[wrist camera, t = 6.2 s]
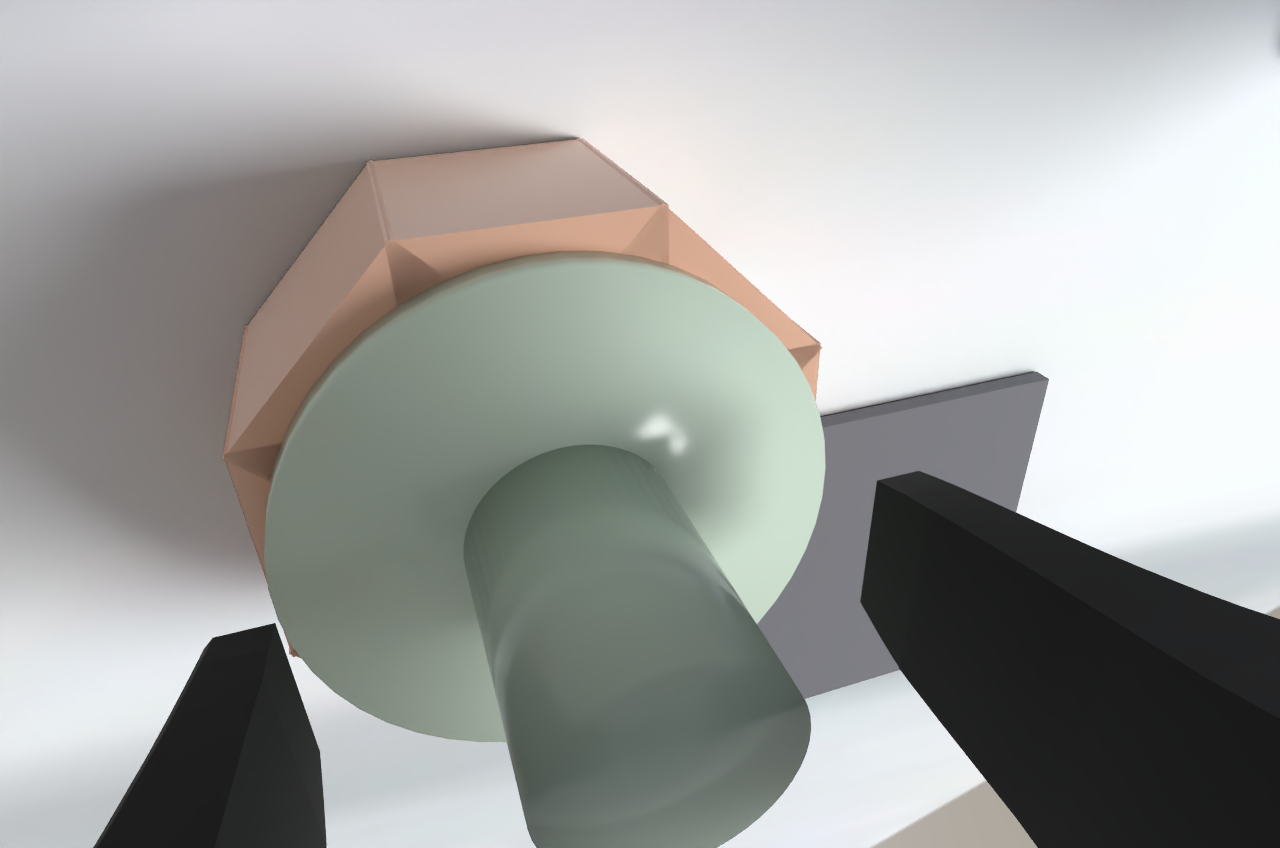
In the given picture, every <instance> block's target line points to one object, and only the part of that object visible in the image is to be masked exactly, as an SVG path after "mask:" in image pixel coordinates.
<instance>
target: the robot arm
mask: <svg viewBox="0 0 1280 848" xmlns="http://www.w3.org/2000/svg"><path fill="white" fill-rule="evenodd" d="M860 602H861V604H862V606H863V608H864V610H865V611H866V613H867V615H868V617H869V618H870V620H871V622H872V624H873V625H874V627H875V629H876V631H877V632H878V634H879V636H880V638H881V639H882V641H883V643H884V644H885V646H886V648H887V649H888V651H889V652H890V654H891V656H892V657H893V659H894V661H895V662H896V664H897V665H898V667H899V669H900V670H901V671H902V673H903V674H904V675H905V677H906V678H907V679H908V681H909V682H910V683H911V685H912V686H913V687H914V689H915V690H916V691H917V692H918V694H919V695H920V696H921V698H922V699H923V700H924V702H925V703H926V704H927V705H928V707H929V708H930V709H931V711H932V712H933V713H934V714H935V716H936V717H937V718H938V720H939V721H940V722H941V723H942V725H943V726H944V727H945V728H946V730H947V731H948V732H949V734H950V735H951V736H952V737H953V739H954V740H955V741H956V742H957V744H958V745H959V746H960V747H961V749H962V750H963V751H964V752H965V754H966V755H967V756H968V758H969V759H970V760H971V761H972V763H973V764H974V765H975V766H976V768H977V769H978V770H979V771H980V773H981V774H982V775H983V777H984V778H985V779H986V780H987V782H988V783H989V784H990V785H991V787H992V788H993V789H994V790H995V792H996V793H997V794H998V796H999V797H1000V798H1001V799H1002V801H1003V802H1004V803H1005V804H1006V806H1007V807H1008V808H1009V809H1010V811H1011V812H1012V813H1013V814H1014V816H1015V817H1016V818H1017V820H1018V821H1019V822H1020V824H1021V825H1022V827H1023V828H1024V829H1025V831H1026V832H1027V833H1028V835H1029V836H1030V838H1031V839H1032V840H1033V842H1034V843H1035V844H1036V846H1037V847H1038V848H1280V619H1277V618H1274V617H1271V616H1268V615H1265V614H1262V613H1259V612H1256V611H1253V610H1250V609H1247V608H1244V607H1242V606H1239V605H1236V604H1233V603H1231V602H1228V601H1225V600H1222V599H1220V598H1217V597H1214V596H1211V595H1209V594H1206V593H1203V592H1201V591H1198V590H1196V589H1193V588H1191V587H1188V586H1186V585H1183V584H1181V583H1178V582H1176V581H1173V580H1171V579H1168V578H1166V577H1163V576H1161V575H1158V574H1156V573H1153V572H1151V571H1148V570H1145V569H1143V568H1141V567H1138V566H1136V565H1133V564H1131V563H1129V562H1126V561H1124V560H1122V559H1119V558H1117V557H1115V556H1112V555H1110V554H1107V553H1105V552H1103V551H1101V550H1098V549H1096V548H1094V547H1091V546H1089V545H1087V544H1085V543H1082V542H1080V541H1078V540H1076V539H1073V538H1071V537H1069V536H1067V535H1064V534H1062V533H1060V532H1058V531H1055V530H1053V529H1051V528H1049V527H1047V526H1044V525H1042V524H1040V523H1038V522H1036V521H1033V520H1031V519H1029V518H1027V517H1025V516H1022V515H1020V514H1018V513H1016V512H1014V511H1012V510H1009V509H1007V508H1005V507H1003V506H1001V505H998V504H996V503H994V502H992V501H990V500H987V499H985V498H983V497H981V496H978V495H976V494H974V493H972V492H969V491H967V490H965V489H963V488H960V487H958V486H956V485H953V484H951V483H949V482H946V481H944V480H941V479H939V478H937V477H934V476H931V475H929V474H926V473H923V472H921V471H915V472H911V473H907V474H902V475H898V476H894V477H890V478H886V479H881V480H877V484H876V491H875V498H874V505H873V512H872V520H871V527H870V534H869V541H868V549H867V556H866V563H865V570H864V577H863V585H862V592H861V599H860ZM93 848H326V829H325V813H324V798H323V785H322V772H321V759H320V751H319V748H318V745H317V742H316V739H315V736H314V733H313V731H312V728H311V725H310V722H309V719H308V716H307V713H306V710H305V708H304V705H303V702H302V699H301V696H300V693H299V690H298V687H297V685H296V682H295V679H294V676H293V673H292V670H291V667H290V664H289V662H288V659H287V656H286V653H285V650H284V647H283V644H282V641H281V639H280V636H279V633H278V630H277V627H276V624H275V623H274V624H269V625H265V626H261V627H257V628H253V629H248V630H244V631H240V632H236V633H231V634H227V635H223V636H219V637H215V638H212V640H211V641H210V642H209V643H208V645H207V646H206V647H205V648H204V650H203V652H202V654H201V656H200V658H199V660H198V662H197V664H196V666H195V668H194V670H193V672H192V674H191V675H190V677H189V679H188V681H187V683H186V685H185V687H184V689H183V691H182V693H181V695H180V697H179V699H178V700H177V702H176V704H175V706H174V708H173V710H172V712H171V714H170V715H169V717H168V719H167V721H166V723H165V725H164V727H163V728H162V730H161V732H160V734H159V736H158V737H157V739H156V741H155V743H154V745H153V747H152V748H151V750H150V752H149V754H148V756H147V757H146V759H145V761H144V763H143V764H142V766H141V768H140V770H139V771H138V773H137V775H136V776H135V778H134V780H133V781H132V783H131V785H130V787H129V788H128V790H127V792H126V793H125V795H124V797H123V799H122V800H121V802H120V804H119V805H118V807H117V809H116V811H115V812H114V814H113V816H112V817H111V819H110V821H109V823H108V824H107V826H106V828H105V829H104V831H103V833H102V834H101V836H100V838H99V839H98V841H97V842H96V844H95V846H94V847H93Z"/></svg>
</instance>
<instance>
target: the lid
mask: <svg viewBox="0 0 1280 848" xmlns="http://www.w3.org/2000/svg"><path fill="white" fill-rule="evenodd" d="M824 477H825V440H824V434H823V429H822V423H821V418H820V413H819V410H818V407H817V404H816V401H815V398H814V396H813V393H812V390H811V387H810V385H809V383H808V381H807V379H806V378H805V376H804V374H803V372H802V370H801V369H800V367H799V365H798V363H797V361H796V360H795V358H794V357H793V356H792V355H791V353H790V352H789V351H788V350H787V348H786V347H785V346H784V345H783V343H782V342H781V341H780V340H779V338H778V337H777V336H776V335H775V334H774V333H773V332H772V331H770V330H769V329H768V328H767V327H766V326H765V325H764V324H763V323H762V322H761V321H759V320H758V319H757V318H756V317H755V316H754V315H753V314H752V313H750V312H749V311H748V310H747V309H746V308H745V307H744V306H742V305H741V304H740V303H739V302H738V301H737V300H736V299H734V298H733V297H731V296H730V295H728V294H727V293H725V292H724V291H722V290H721V289H719V288H718V287H716V286H714V285H713V284H711V283H710V282H708V281H707V280H705V279H702V278H700V277H698V276H696V275H694V274H691V273H689V272H687V271H685V270H682V269H680V268H678V267H676V266H673V265H669V264H666V263H662V262H658V261H655V260H651V259H648V258H644V257H641V256H635V255H627V254H620V253H613V252H605V251H557V252H549V253H542V254H534V255H526V256H519V257H515V258H511V259H508V260H504V261H500V262H496V263H492V264H488V265H484V266H481V267H477V268H475V269H472V270H470V271H467V272H465V273H462V274H460V275H457V276H455V277H452V278H450V279H447V280H445V281H442V282H440V283H437V284H435V285H434V286H432V287H430V288H428V289H426V290H425V291H423V292H421V293H419V294H417V295H416V296H414V297H412V298H410V299H408V300H407V301H405V302H403V303H401V304H399V305H398V306H397V307H395V308H394V309H393V310H391V311H390V312H388V313H387V314H386V315H384V316H383V317H382V318H380V319H379V320H378V321H376V322H375V323H373V324H372V325H371V326H369V327H368V328H367V329H365V330H364V331H363V332H362V333H361V334H360V335H359V336H358V337H357V338H356V339H355V340H354V341H353V342H351V343H350V344H349V345H348V346H347V347H346V348H345V349H344V350H343V351H342V352H341V353H340V354H339V355H338V356H337V357H336V358H335V359H334V360H333V361H332V362H331V364H330V365H329V366H328V367H327V369H326V370H325V371H324V372H323V374H322V375H321V376H320V378H319V379H318V380H317V381H316V383H315V384H314V385H313V386H312V388H311V389H310V390H309V391H308V393H307V395H306V397H305V398H304V400H303V402H302V403H301V405H300V407H299V409H298V410H297V412H296V414H295V416H294V417H293V419H292V421H291V422H290V424H289V426H288V429H287V431H286V434H285V436H284V439H283V442H282V444H281V447H280V449H279V452H278V454H277V457H276V459H275V464H274V468H273V473H272V478H271V482H270V487H269V491H268V499H267V511H266V525H265V548H264V560H265V567H266V575H267V582H268V589H269V593H270V596H271V599H272V602H273V605H274V608H275V611H276V614H277V617H278V620H279V622H280V624H281V626H282V628H283V630H284V631H285V633H286V635H287V637H288V639H289V641H290V643H291V644H292V646H293V648H294V649H295V650H296V652H297V653H298V654H299V656H300V657H301V658H302V659H303V661H304V662H305V663H306V664H307V666H308V667H309V668H310V670H311V671H312V672H313V673H314V674H315V675H316V676H317V677H319V678H320V679H321V680H322V681H323V682H324V683H325V684H326V685H327V686H328V687H329V688H331V689H332V690H333V691H334V692H335V693H337V694H338V695H339V696H341V697H342V698H344V699H345V700H347V701H348V702H350V703H351V704H353V705H354V706H356V707H357V708H359V709H361V710H363V711H365V712H367V713H369V714H371V715H373V716H375V717H377V718H379V719H381V720H383V721H385V722H387V723H390V724H393V725H396V726H399V727H402V728H405V729H408V730H411V731H414V732H417V733H422V734H427V735H432V736H437V737H441V738H446V739H455V740H465V741H476V742H507V745H508V749H509V753H510V757H511V761H512V766H513V770H514V774H515V778H516V782H517V786H518V791H519V795H520V799H521V803H522V807H523V812H524V816H525V820H526V824H527V828H528V831H529V834H530V837H531V839H532V841H533V843H534V844H535V846H536V847H537V848H717V847H719V846H720V845H722V844H724V843H725V842H727V841H729V840H730V839H732V838H733V837H735V836H736V835H738V834H739V833H740V832H742V831H743V830H745V829H746V828H747V827H749V826H750V825H751V824H752V823H754V822H755V821H756V820H757V819H758V818H760V817H761V816H762V815H763V814H764V813H765V812H766V811H767V810H768V809H769V808H770V807H771V806H772V805H773V804H774V803H775V802H776V801H777V800H778V798H779V797H780V796H781V795H782V794H783V793H784V791H785V790H786V789H787V787H788V786H789V784H790V783H791V782H792V780H793V779H794V777H795V775H796V773H797V772H798V770H799V768H800V766H801V764H802V762H803V759H804V757H805V755H806V752H807V748H808V745H809V741H810V733H811V720H810V714H809V710H808V706H807V704H806V702H805V700H804V698H803V696H802V694H801V692H800V691H799V689H798V688H797V686H796V685H795V683H794V681H793V680H792V678H791V677H790V675H789V674H788V672H787V670H786V669H785V667H784V666H783V664H782V663H781V661H780V660H779V658H778V656H777V655H776V653H775V652H774V650H773V649H772V647H771V645H770V644H769V642H768V641H767V639H766V638H765V636H764V635H763V633H762V631H761V630H760V628H759V627H758V625H757V624H758V622H759V621H760V620H761V619H762V617H763V616H764V615H765V614H766V612H767V611H768V610H769V609H770V608H771V606H772V605H773V604H774V603H775V601H776V600H777V598H778V597H779V595H780V594H781V592H782V591H783V589H784V588H785V586H786V585H787V583H788V582H789V580H790V579H791V577H792V576H793V574H794V572H795V570H796V568H797V566H798V564H799V562H800V560H801V558H802V556H803V554H804V552H805V550H806V548H807V545H808V542H809V540H810V537H811V535H812V532H813V529H814V527H815V524H816V520H817V516H818V512H819V508H820V504H821V500H822V495H823V486H824Z"/></svg>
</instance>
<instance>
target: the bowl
mask: <svg viewBox="0 0 1280 848" xmlns="http://www.w3.org/2000/svg"><path fill="white" fill-rule="evenodd" d="M557 251H605V252H613V253H620V254H627V255H635V256H641V257H644V258H648V259H651V260H655V261H658V262H662V263H666V264H669V265H673V266H676V267H678V268H680V269H682V270H685V271H687V272H689V273H691V274H694V275H696V276H698V277H700V278H702V279H705V280H707V281H708V282H710V283H711V284H713V285H714V286H716V287H718V288H719V289H721V290H722V291H724V292H725V293H727V294H728V295H730V296H731V297H733V298H734V299H736V300H737V301H738V302H739V303H740V304H741V305H742V306H744V307H745V308H746V309H747V310H748V311H749V312H750V313H752V314H753V315H754V316H755V317H756V318H757V319H758V320H759V321H761V322H762V323H763V324H764V325H765V326H766V327H767V328H768V329H769V330H770V331H772V332H773V333H774V334H775V335H776V336H777V337H778V338H779V340H780V341H781V342H782V343H783V345H784V346H785V347H786V348H787V350H788V351H789V352H790V353H791V355H792V356H793V357H794V358H795V360H796V361H797V363H798V365H799V367H800V369H801V370H802V372H803V374H804V376H805V378H806V379H807V381H808V383H809V385H810V387H811V390H812V393H813V396H814V398H815V401H816V390H817V379H818V367H819V356H820V349H821V348H822V347H821V346H820V344H821V343H820V342H818V341H817V340H816V339H815V338H813V337H812V336H811V335H810V334H808V333H807V332H806V331H805V330H804V329H802V328H801V327H800V326H799V325H797V324H796V323H795V322H794V321H792V320H791V319H790V318H789V317H788V316H787V315H786V314H784V313H783V312H782V311H781V310H780V309H779V308H778V307H777V306H776V305H775V304H773V303H772V302H771V301H770V300H769V299H768V298H767V297H766V296H765V295H764V294H762V293H761V292H760V291H759V290H758V289H757V288H756V287H755V286H754V285H753V284H751V283H750V282H749V281H748V280H747V279H746V278H745V277H744V276H743V275H742V274H740V273H739V272H738V271H737V270H736V269H735V268H734V267H733V266H732V265H731V264H729V263H728V262H727V261H726V260H725V259H724V258H723V257H722V256H721V255H719V254H718V253H717V252H716V251H715V250H714V249H713V248H712V247H711V246H710V245H708V244H707V243H706V242H705V241H704V240H703V239H702V238H701V237H700V236H699V235H697V234H696V233H695V232H694V231H693V230H692V229H691V228H690V227H689V226H688V225H686V224H685V223H684V222H683V221H682V220H681V219H680V218H679V217H678V216H677V215H675V214H674V213H673V212H672V211H671V210H670V209H669V208H668V204H667V203H665V202H664V201H663V200H662V199H660V198H659V197H658V196H656V195H655V194H654V193H653V192H651V191H650V190H649V189H647V188H646V187H645V186H643V185H642V184H641V183H640V182H638V181H637V180H636V179H634V178H633V177H632V176H631V175H629V174H628V173H627V172H625V171H624V170H623V169H621V168H620V167H619V166H618V165H616V164H615V163H614V162H612V161H611V160H610V159H609V158H607V157H606V156H605V155H603V154H602V153H601V152H599V151H598V150H597V149H596V148H594V147H593V146H592V145H590V144H589V143H588V142H587V141H585V140H584V139H580V138H579V137H578V138H577V139H574V140H565V141H555V142H546V143H537V144H527V145H518V146H508V147H499V148H490V149H480V150H471V151H461V152H452V153H443V154H433V155H424V156H414V157H405V158H396V159H386V160H377V161H372V160H371V159H370V160H369V161H367V162H366V166H365V167H364V168H363V170H362V171H361V173H360V174H359V175H358V177H357V178H356V179H355V181H354V182H353V183H352V185H351V186H350V187H349V189H348V190H347V191H346V193H345V194H344V196H343V197H342V198H341V200H340V201H339V202H338V204H337V205H336V206H335V208H334V209H333V210H332V212H331V213H330V215H329V216H328V217H327V219H326V220H325V221H324V223H323V224H322V225H321V227H320V228H319V229H318V231H317V232H316V233H315V235H314V236H313V238H312V239H311V240H310V242H309V243H308V244H307V246H306V247H305V248H304V250H303V251H302V252H301V254H300V255H299V256H298V258H297V259H296V261H295V262H294V263H293V265H292V266H291V267H290V269H289V270H288V271H287V273H286V274H285V275H284V277H283V278H282V279H281V281H280V282H279V284H278V285H277V286H276V288H275V289H274V290H273V292H272V293H271V294H270V296H269V297H268V298H267V300H266V301H265V302H264V304H263V305H262V307H261V308H260V309H259V311H258V312H257V313H256V315H255V316H254V317H253V319H252V320H251V321H250V323H249V324H248V325H245V329H244V334H243V340H242V346H241V352H240V358H239V364H238V370H237V375H236V381H235V387H234V393H233V399H232V405H231V411H230V417H229V422H228V428H227V434H226V440H225V446H224V452H223V458H222V460H224V461H226V464H227V467H228V470H229V472H230V475H231V478H232V481H233V484H234V487H235V490H236V493H237V496H238V499H239V502H240V505H241V507H242V510H243V513H244V516H245V519H246V522H247V525H248V528H249V531H250V534H251V537H252V540H253V542H254V545H255V548H256V551H257V554H258V557H259V560H260V563H261V566H262V569H263V572H264V575H265V577H266V580H267V575H266V567H265V560H264V548H265V525H266V511H267V499H268V491H269V487H270V482H271V478H272V473H273V468H274V464H275V459H276V457H277V454H278V452H279V449H280V447H281V444H282V442H283V439H284V436H285V434H286V431H287V429H288V426H289V424H290V422H291V421H292V419H293V417H294V416H295V414H296V412H297V410H298V409H299V407H300V405H301V403H302V402H303V400H304V398H305V397H306V395H307V393H308V391H309V390H310V389H311V388H312V386H313V385H314V384H315V383H316V381H317V380H318V379H319V378H320V376H321V375H322V374H323V372H324V371H325V370H326V369H327V367H328V366H329V365H330V364H331V362H332V361H333V360H334V359H335V358H336V357H337V356H338V355H339V354H340V353H341V352H342V351H343V350H344V349H345V348H346V347H347V346H348V345H349V344H350V343H351V342H353V341H354V340H355V339H356V338H357V337H358V336H359V335H360V334H361V333H362V332H363V331H364V330H365V329H367V328H368V327H369V326H371V325H372V324H373V323H375V322H376V321H378V320H379V319H380V318H382V317H383V316H384V315H386V314H387V313H388V312H390V311H391V310H393V309H394V308H395V307H397V306H398V305H399V304H401V303H403V302H405V301H407V300H408V299H410V298H412V297H414V296H416V295H417V294H419V293H421V292H423V291H425V290H426V289H428V288H430V287H432V286H434V285H435V284H437V283H440V282H442V281H445V280H447V279H450V278H452V277H455V276H457V275H460V274H462V273H465V272H467V271H470V270H472V269H475V268H477V267H481V266H484V265H488V264H492V263H496V262H500V261H504V260H508V259H511V258H515V257H519V256H526V255H534V254H542V253H549V252H557ZM267 583H268V582H267ZM284 633H285V631H284ZM285 636H286V639H287V642H288V645H289V654H291V655H292V656H293V657H295V656H297V657H300V656H299V654H298V653H297V652H296V650H295V649H294V648H293V646H292V644H291V643H290V641H289V639H288V637H287V635H286V633H285ZM300 658H301V657H300Z"/></svg>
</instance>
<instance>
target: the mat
mask: <svg viewBox="0 0 1280 848" xmlns="http://www.w3.org/2000/svg"><path fill="white" fill-rule="evenodd" d="M1048 381H1049V379H1048V378H1046V377H1044V376H1043V375H1041V374H1040V373H1038V372H1033V373H1028V374H1023V375H1019V376H1014V377H1009V378H1004V379H1000V380H995V381H990V382H985V383H981V384H976V385H971V386H966V387H962V388H957V389H952V390H947V391H943V392H938V393H933V394H928V395H924V396H919V397H914V398H909V399H905V400H900V401H895V402H890V403H886V404H881V405H876V406H871V407H867V408H862V409H857V410H852V411H848V412H843V413H838V414H833V415H829V416H824V417H820V418H821V423H822V429H823V434H824V440H825V477H824V486H823V495H822V500H821V504H820V508H819V512H818V516H817V520H816V524H815V527H814V529H813V532H812V535H811V537H810V540H809V542H808V545H807V548H806V550H805V552H804V554H803V556H802V558H801V560H800V562H799V564H798V566H797V568H796V570H795V572H794V574H793V576H792V577H791V579H790V580H789V582H788V583H787V585H786V586H785V588H784V589H783V591H782V592H781V594H780V595H779V597H778V598H777V600H776V601H775V603H774V604H773V605H772V606H771V608H770V609H769V610H768V611H767V612H766V614H765V615H764V616H763V617H762V619H761V620H760V621H759V622H758V624H757V625H758V627H759V628H760V630H761V631H762V633H763V635H764V636H765V638H766V639H767V641H768V642H769V644H770V645H771V647H772V649H773V650H774V652H775V653H776V655H777V656H778V658H779V660H780V661H781V663H782V664H783V666H784V667H785V669H786V670H787V672H788V674H789V675H790V677H791V678H792V680H793V681H794V683H795V685H796V686H797V688H798V689H799V691H800V692H801V694H802V696H803V698H804V699H806V698H809V697H812V696H815V695H819V694H822V693H825V692H828V691H832V690H835V689H838V688H841V687H845V686H848V685H851V684H855V683H858V682H861V681H864V680H868V679H871V678H874V677H877V676H881V675H884V674H887V673H891V672H894V671H897V670H900V669H899V667H898V665H897V664H896V662H895V661H894V659H893V657H892V656H891V654H890V652H889V651H888V649H887V648H886V646H885V644H884V643H883V641H882V639H881V638H880V636H879V634H878V632H877V631H876V629H875V627H874V625H873V624H872V622H871V620H870V618H869V617H868V615H867V613H866V611H865V610H864V608H863V606H862V604H861V602H860V599H861V592H862V585H863V577H864V570H865V563H866V556H867V549H868V541H869V534H870V527H871V520H872V512H873V505H874V498H875V491H876V484H877V480H881V479H886V478H890V477H894V476H898V475H902V474H907V473H911V472H915V471H921V472H923V473H926V474H929V475H931V476H934V477H937V478H939V479H941V480H944V481H946V482H949V483H951V484H953V485H956V486H958V487H960V488H963V489H965V490H967V491H969V492H972V493H974V494H976V495H978V496H981V497H983V498H985V499H987V500H990V501H992V502H994V503H996V504H998V505H1001V506H1003V507H1005V508H1007V509H1009V510H1012V511H1014V512H1016V510H1017V506H1018V502H1019V498H1020V494H1021V490H1022V486H1023V482H1024V478H1025V474H1026V470H1027V466H1028V462H1029V458H1030V453H1031V449H1032V445H1033V441H1034V437H1035V433H1036V429H1037V425H1038V421H1039V417H1040V413H1041V409H1042V405H1043V401H1044V397H1045V393H1046V389H1047V385H1048Z"/></svg>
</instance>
